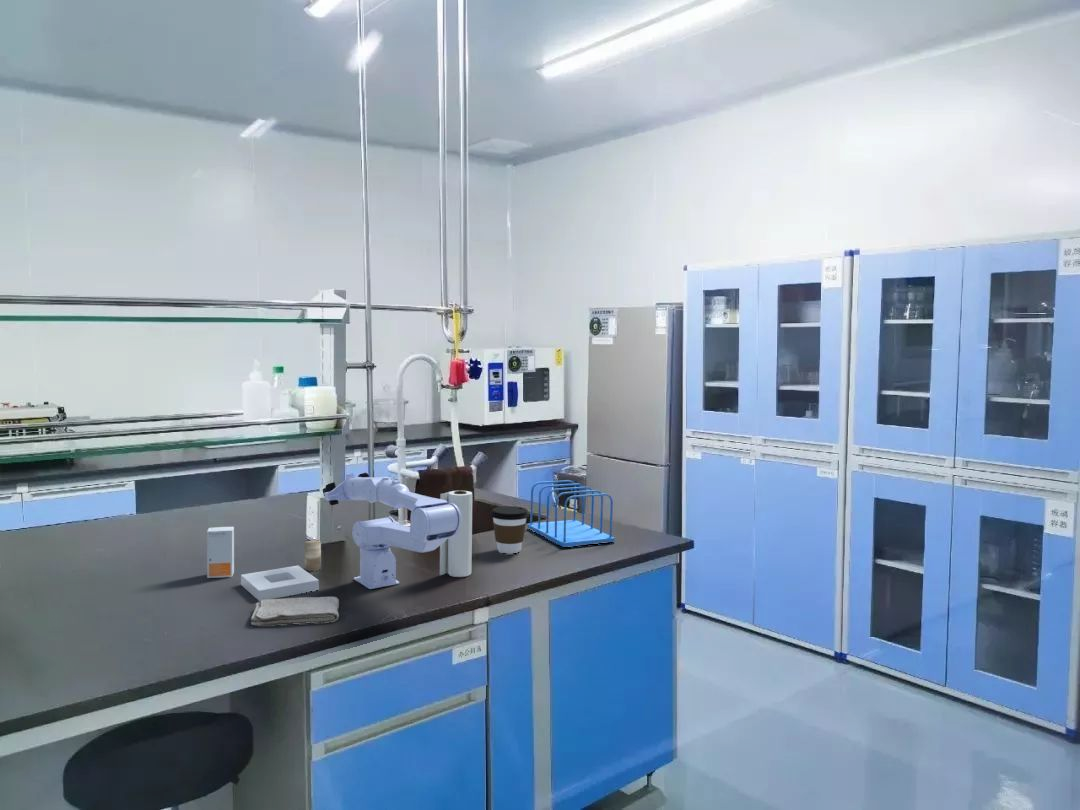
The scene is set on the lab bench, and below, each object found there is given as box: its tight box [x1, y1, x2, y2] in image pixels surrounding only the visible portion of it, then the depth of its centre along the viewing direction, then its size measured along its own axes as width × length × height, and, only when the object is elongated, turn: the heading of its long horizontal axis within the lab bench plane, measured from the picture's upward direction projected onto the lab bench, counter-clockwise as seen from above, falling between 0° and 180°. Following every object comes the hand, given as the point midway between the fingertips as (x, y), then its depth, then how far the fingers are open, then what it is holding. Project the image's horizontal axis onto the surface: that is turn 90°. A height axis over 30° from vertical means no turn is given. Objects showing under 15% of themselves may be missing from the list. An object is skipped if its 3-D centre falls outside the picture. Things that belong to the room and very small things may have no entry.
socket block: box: [240, 565, 320, 602], centre depth 190 cm, size 14×14×2 cm
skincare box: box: [206, 526, 235, 579], centre depth 198 cm, size 6×4×12 cm
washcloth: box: [250, 596, 340, 627], centre depth 172 cm, size 12×18×3 cm, turn 103°
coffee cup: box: [490, 505, 530, 554], centre depth 224 cm, size 11×11×12 cm
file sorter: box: [527, 479, 615, 548], centre depth 242 cm, size 25×17×15 cm
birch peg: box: [304, 540, 322, 572], centre depth 205 cm, size 4×4×7 cm
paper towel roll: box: [439, 490, 473, 578], centre depth 202 cm, size 7×6×21 cm
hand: (337, 488), depth 209 cm, fingers open, 7 cm apart
